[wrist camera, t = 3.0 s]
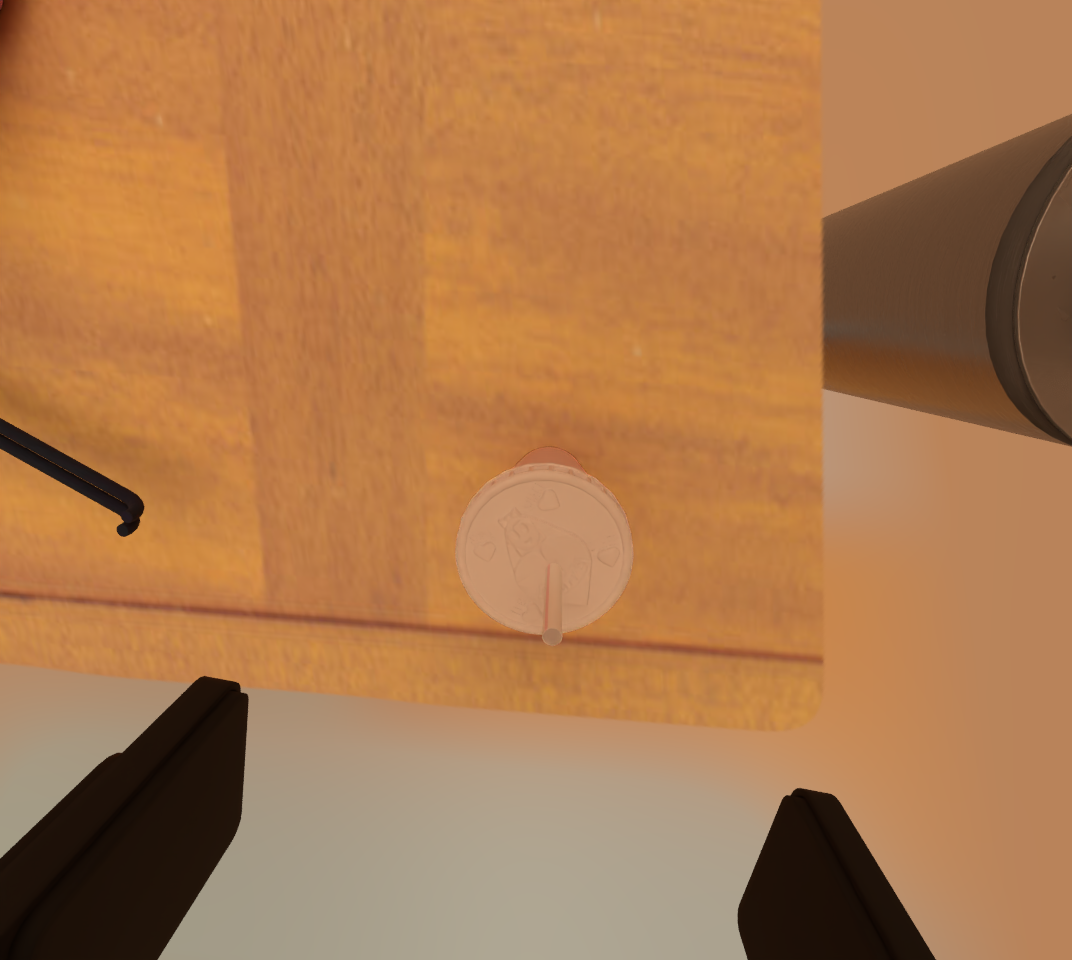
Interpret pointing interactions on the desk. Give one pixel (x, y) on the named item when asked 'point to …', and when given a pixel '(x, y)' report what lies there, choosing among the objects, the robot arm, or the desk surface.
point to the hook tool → (126, 509)
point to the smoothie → (544, 546)
